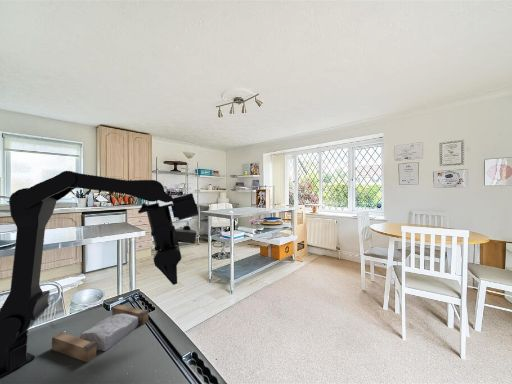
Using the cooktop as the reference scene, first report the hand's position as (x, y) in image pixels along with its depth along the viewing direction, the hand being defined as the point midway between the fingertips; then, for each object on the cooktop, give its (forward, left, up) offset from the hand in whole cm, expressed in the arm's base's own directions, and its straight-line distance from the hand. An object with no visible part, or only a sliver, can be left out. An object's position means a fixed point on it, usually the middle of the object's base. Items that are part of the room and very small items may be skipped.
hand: (174, 278), depth 63 cm
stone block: (-16, -7, -16) cm, 23 cm away
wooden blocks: (-17, -7, -15) cm, 24 cm away
